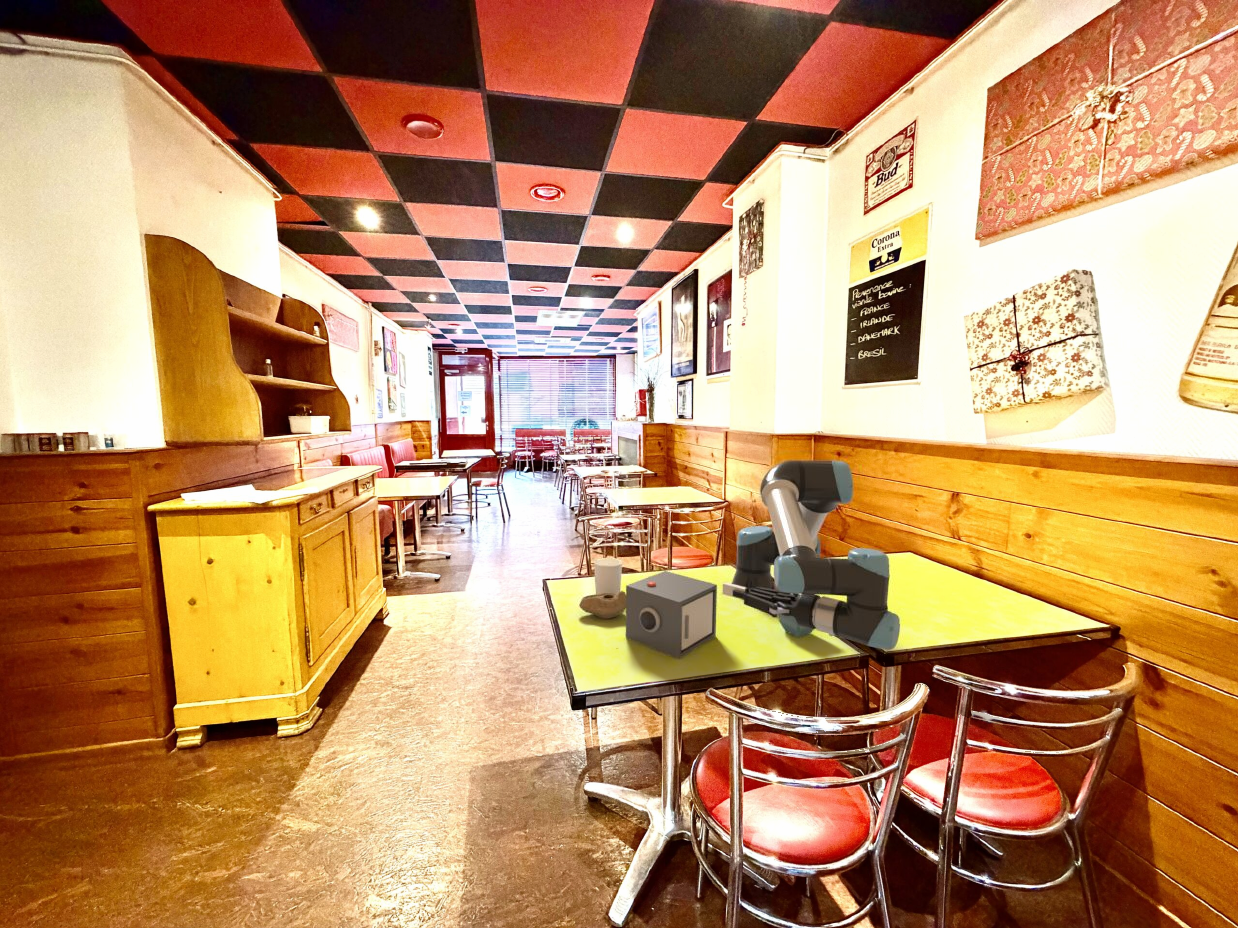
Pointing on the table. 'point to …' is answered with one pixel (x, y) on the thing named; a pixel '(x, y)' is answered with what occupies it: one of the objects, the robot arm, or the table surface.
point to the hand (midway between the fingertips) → (724, 588)
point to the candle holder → (608, 575)
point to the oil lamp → (604, 604)
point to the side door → (696, 619)
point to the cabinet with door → (664, 611)
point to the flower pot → (793, 626)
